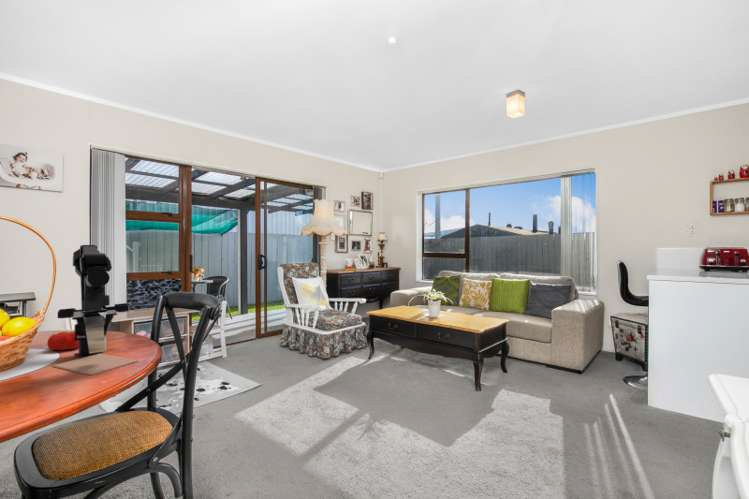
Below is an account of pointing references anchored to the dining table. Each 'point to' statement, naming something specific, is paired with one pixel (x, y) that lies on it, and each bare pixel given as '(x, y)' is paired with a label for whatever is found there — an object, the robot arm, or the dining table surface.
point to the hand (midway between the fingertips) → (95, 336)
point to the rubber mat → (95, 364)
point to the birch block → (95, 334)
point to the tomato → (62, 341)
